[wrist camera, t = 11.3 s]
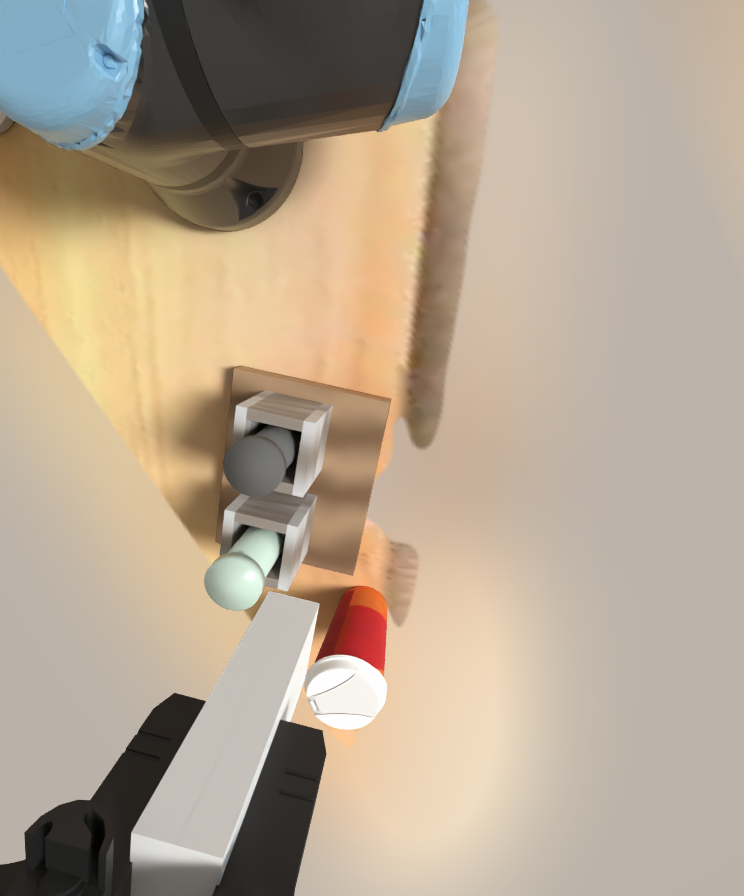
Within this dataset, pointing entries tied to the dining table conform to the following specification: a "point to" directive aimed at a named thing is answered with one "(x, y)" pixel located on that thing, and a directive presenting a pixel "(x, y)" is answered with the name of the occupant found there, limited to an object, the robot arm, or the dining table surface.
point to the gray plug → (261, 460)
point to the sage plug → (244, 569)
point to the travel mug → (5, 122)
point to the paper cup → (351, 662)
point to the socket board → (306, 470)
